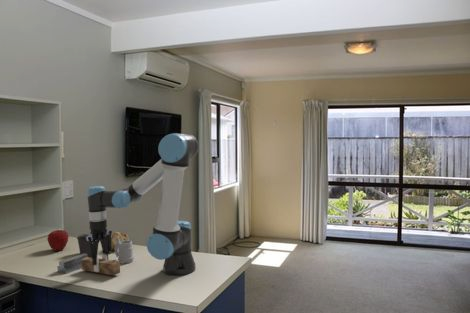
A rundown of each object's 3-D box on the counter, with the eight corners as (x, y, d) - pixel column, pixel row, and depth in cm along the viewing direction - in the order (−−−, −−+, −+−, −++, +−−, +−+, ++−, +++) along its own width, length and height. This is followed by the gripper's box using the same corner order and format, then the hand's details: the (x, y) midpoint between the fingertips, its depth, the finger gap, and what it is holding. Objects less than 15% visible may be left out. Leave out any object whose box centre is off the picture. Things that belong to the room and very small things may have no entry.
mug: (125, 264, 190) (124, 240, 189) (109, 260, 196) (108, 237, 195) (137, 260, 196) (136, 237, 195) (121, 256, 203) (120, 234, 202)
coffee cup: (87, 250, 215) (86, 232, 215) (96, 252, 211) (95, 234, 210) (74, 254, 209) (73, 235, 208) (83, 256, 204) (82, 238, 203)
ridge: (90, 264, 191) (90, 254, 191) (65, 273, 179) (65, 263, 179) (82, 262, 194) (82, 253, 194) (57, 271, 182) (57, 261, 182)
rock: (112, 246, 221) (111, 229, 221) (130, 245, 222) (129, 228, 222) (107, 253, 209) (106, 234, 209) (126, 252, 211) (126, 234, 210)
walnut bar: (120, 272, 176) (119, 261, 176) (113, 275, 172) (113, 264, 172) (88, 267, 185) (88, 256, 184) (81, 269, 181) (81, 259, 181)
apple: (45, 250, 217) (44, 229, 216) (64, 246, 224) (64, 226, 224) (51, 254, 209) (50, 233, 208) (71, 250, 216) (70, 229, 216)
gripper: (107, 215, 186) (110, 263, 188) (76, 223, 172) (79, 274, 173) (118, 216, 183) (121, 265, 184) (87, 224, 168) (91, 277, 169)
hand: (101, 269), depth 178 cm, fingers closed on walnut bar, 4 cm apart
